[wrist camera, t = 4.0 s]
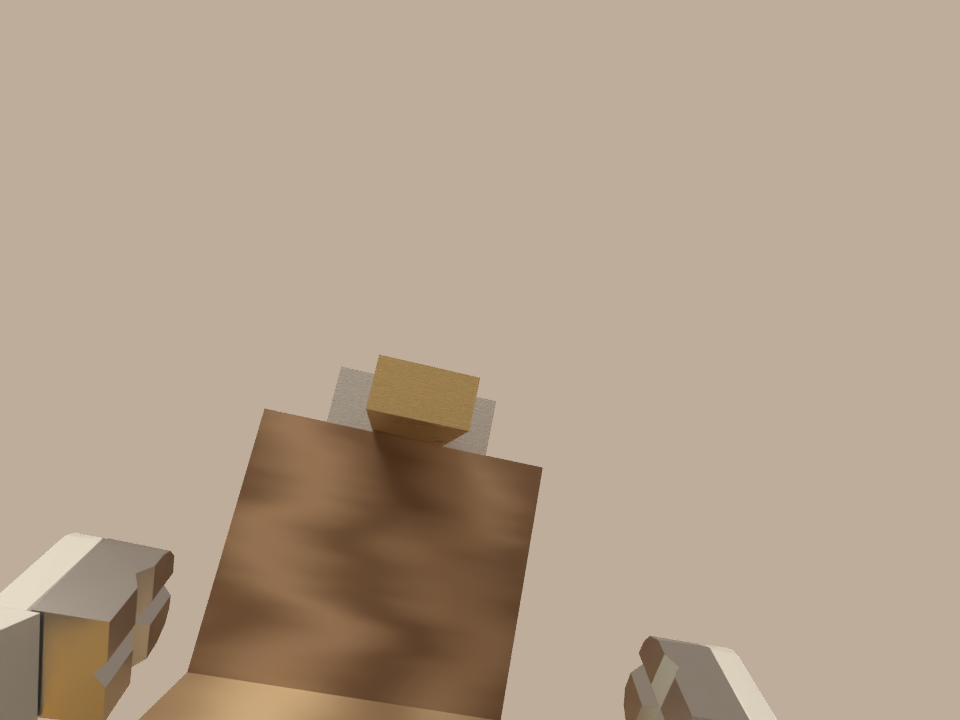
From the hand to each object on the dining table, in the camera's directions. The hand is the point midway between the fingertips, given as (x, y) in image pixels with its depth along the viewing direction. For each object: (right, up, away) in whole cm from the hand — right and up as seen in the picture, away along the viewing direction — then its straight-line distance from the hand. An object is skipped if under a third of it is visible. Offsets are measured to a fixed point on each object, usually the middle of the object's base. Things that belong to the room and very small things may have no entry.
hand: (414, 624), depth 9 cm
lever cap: (-2, +1, +14) cm, 14 cm away
